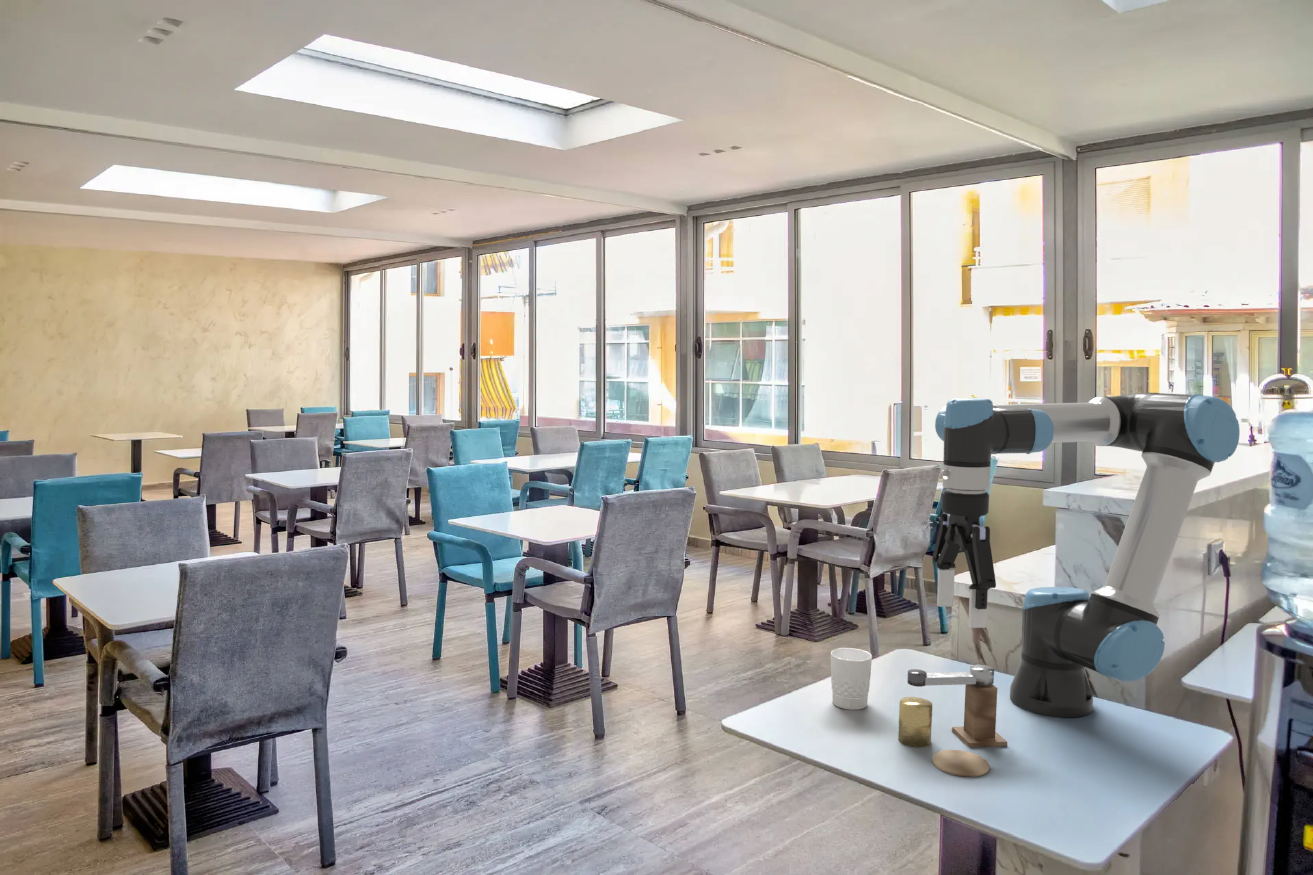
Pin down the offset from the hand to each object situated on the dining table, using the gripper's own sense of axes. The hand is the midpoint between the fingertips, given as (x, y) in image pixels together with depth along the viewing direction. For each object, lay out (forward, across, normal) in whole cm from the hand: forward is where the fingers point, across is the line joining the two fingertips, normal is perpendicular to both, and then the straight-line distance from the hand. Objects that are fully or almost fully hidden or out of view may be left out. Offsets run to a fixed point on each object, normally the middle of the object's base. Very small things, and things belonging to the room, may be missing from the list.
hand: (960, 616), depth 157 cm
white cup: (+24, -24, -11) cm, 36 cm away
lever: (+14, -6, +1) cm, 15 cm away
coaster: (+24, +4, -1) cm, 25 cm away
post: (+24, -6, +7) cm, 26 cm away
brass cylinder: (+24, -6, -5) cm, 25 cm away
